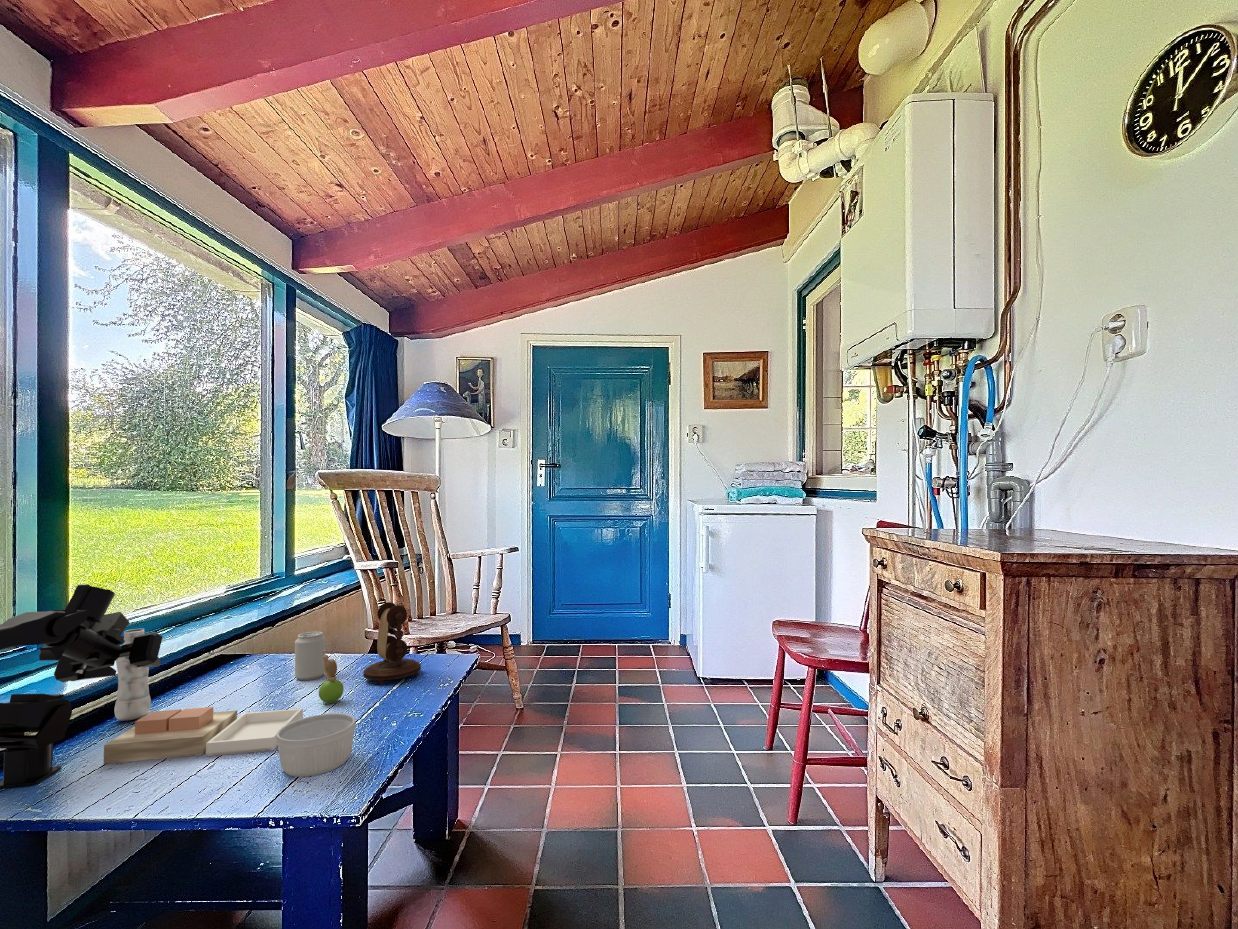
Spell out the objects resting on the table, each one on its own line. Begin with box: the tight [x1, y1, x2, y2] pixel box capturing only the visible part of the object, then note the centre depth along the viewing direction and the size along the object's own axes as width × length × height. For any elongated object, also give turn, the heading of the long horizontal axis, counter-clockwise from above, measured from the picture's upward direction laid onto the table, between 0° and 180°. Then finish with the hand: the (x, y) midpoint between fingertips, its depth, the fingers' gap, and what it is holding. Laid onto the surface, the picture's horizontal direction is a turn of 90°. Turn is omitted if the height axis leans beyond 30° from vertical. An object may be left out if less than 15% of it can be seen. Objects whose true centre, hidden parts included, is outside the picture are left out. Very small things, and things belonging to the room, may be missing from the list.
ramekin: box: [276, 712, 357, 778], centre depth 109 cm, size 13×13×7 cm
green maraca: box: [318, 649, 345, 704], centre depth 142 cm, size 5×6×12 cm
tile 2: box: [169, 706, 214, 732], centre depth 120 cm, size 6×6×2 cm
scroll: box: [362, 601, 422, 686], centre depth 161 cm, size 15×15×20 cm
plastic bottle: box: [113, 628, 152, 722], centre depth 134 cm, size 6×7×20 cm
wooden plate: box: [103, 710, 238, 765], centre depth 119 cm, size 14×17×4 cm
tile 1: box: [134, 708, 183, 734], centre depth 119 cm, size 6×6×2 cm
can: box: [294, 631, 326, 681], centre depth 163 cm, size 8×8×12 cm
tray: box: [205, 707, 304, 757], centre depth 122 cm, size 16×12×2 cm
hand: (137, 668), depth 129 cm, fingers open, 9 cm apart
